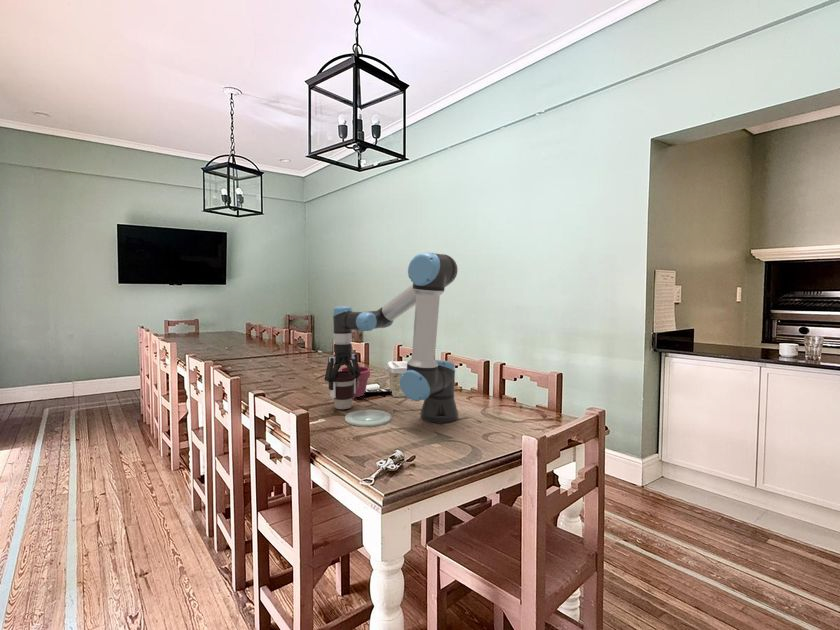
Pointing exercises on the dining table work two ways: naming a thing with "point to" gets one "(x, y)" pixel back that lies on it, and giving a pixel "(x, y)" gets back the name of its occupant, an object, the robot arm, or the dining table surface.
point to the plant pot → (360, 380)
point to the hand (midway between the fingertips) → (343, 395)
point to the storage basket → (396, 376)
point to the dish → (368, 418)
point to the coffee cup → (344, 390)
